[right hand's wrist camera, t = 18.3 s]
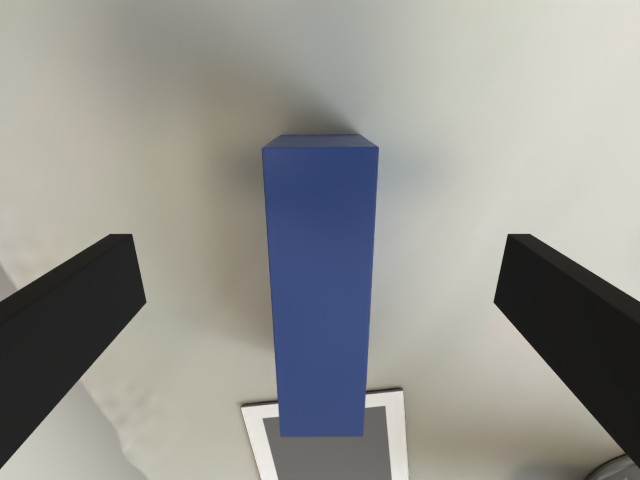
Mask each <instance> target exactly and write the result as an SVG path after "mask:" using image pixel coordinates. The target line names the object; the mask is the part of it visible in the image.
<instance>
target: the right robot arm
mask: <svg viewBox="0 0 640 480" xmlns="http://www.w3.org/2000/svg"><path fill="white" fill-rule="evenodd" d="M145 303H146V298H145V293H144V288H143V284H142V279H141V274H140V269H139V265H138V260H137V255H136V250H135V246H134V241H133V236H132V234H109V235H108V236H106V237H104V238H103V239H101V240H100V241H98V242H96V243H95V244H93V245H91V246H90V247H88V248H87V249H85V250H83V251H82V252H80V253H79V254H77V255H75V256H74V257H72V258H70V259H69V260H67V261H66V262H64V263H62V264H61V265H59V266H58V267H56V268H54V269H53V270H51V271H49V272H48V273H46V274H45V275H43V276H41V277H40V278H38V279H36V280H35V281H33V282H32V283H30V284H28V285H27V286H25V287H24V288H22V289H20V290H19V291H17V292H16V293H14V294H12V295H11V296H9V297H7V298H6V299H4V300H2V301H1V302H0V469H1V468H2V467H3V465H4V464H5V463H6V462H7V461H8V460H9V459H10V457H11V456H12V455H13V454H14V453H15V452H16V451H17V450H18V448H19V447H20V446H21V445H22V444H23V443H24V441H25V440H26V439H27V438H28V437H29V436H30V435H31V434H32V432H33V431H34V430H35V429H36V428H37V427H38V426H39V424H40V423H41V422H42V421H43V420H44V419H45V418H46V416H47V415H48V414H49V413H50V412H51V411H52V410H53V408H54V407H55V406H56V405H57V404H58V403H59V401H60V400H61V399H62V398H63V397H64V396H65V395H66V394H67V392H68V391H69V390H70V389H71V388H72V387H73V386H74V384H75V383H76V382H77V381H78V380H79V379H80V378H81V376H82V375H83V374H84V373H85V372H86V371H87V370H88V368H89V367H90V366H91V365H92V364H93V363H94V362H95V360H96V359H97V358H98V357H99V356H100V355H101V354H102V353H103V351H104V350H105V349H106V348H107V347H108V346H109V345H110V343H111V342H112V341H113V340H114V339H115V338H116V337H117V335H118V334H119V333H120V332H121V331H122V330H123V329H124V327H125V326H126V325H127V324H128V323H129V322H130V321H131V319H132V318H133V317H134V316H135V315H136V314H137V313H138V311H139V310H140V309H141V308H142V307H143V306H144V305H145ZM494 303H495V305H496V306H497V307H498V308H499V309H500V310H501V311H502V313H503V314H504V315H505V316H506V317H507V318H508V319H509V321H510V322H511V323H512V324H513V325H514V326H515V327H516V329H517V330H518V331H519V332H520V333H521V334H522V335H523V337H524V338H525V339H526V340H527V341H528V342H529V343H530V345H531V346H532V347H533V348H534V349H535V350H536V351H537V353H538V354H539V355H540V356H541V357H542V358H543V359H544V360H545V362H546V363H547V364H548V365H549V366H550V367H551V368H552V370H553V371H554V372H555V373H556V374H557V375H558V376H559V378H560V379H561V380H562V381H563V382H564V383H565V384H566V386H567V387H568V388H569V389H570V390H571V391H572V392H573V394H574V395H575V396H576V397H577V398H578V399H579V400H580V402H581V403H582V404H583V405H584V406H585V407H586V408H587V410H588V411H589V412H590V413H591V414H592V415H593V416H594V418H595V419H596V420H597V421H598V422H599V423H600V424H601V426H602V427H603V428H604V429H605V430H606V431H607V432H608V434H609V435H610V436H611V437H612V438H613V439H614V440H615V442H616V443H617V444H618V445H619V446H620V447H621V448H622V450H623V451H624V452H625V453H626V454H627V455H628V456H629V457H630V459H631V460H632V461H633V462H634V463H635V464H636V465H637V467H638V468H639V469H640V302H639V301H638V300H636V299H634V298H633V297H631V296H629V295H628V294H626V293H625V292H623V291H621V290H620V289H618V288H616V287H615V286H613V285H612V284H610V283H608V282H607V281H605V280H604V279H602V278H600V277H599V276H597V275H595V274H594V273H592V272H591V271H589V270H587V269H586V268H584V267H582V266H581V265H579V264H578V263H576V262H574V261H573V260H571V259H570V258H568V257H566V256H565V255H563V254H561V253H560V252H558V251H557V250H555V249H553V248H552V247H550V246H549V245H547V244H545V243H544V242H542V241H540V240H539V239H537V238H536V237H534V236H532V235H531V234H508V236H507V241H506V246H505V250H504V255H503V260H502V265H501V269H500V274H499V279H498V284H497V288H496V293H495V298H494Z"/></svg>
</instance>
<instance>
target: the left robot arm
mask: <svg viewBox="0 0 640 480" xmlns="http://www.w3.org/2000/svg"><path fill="white" fill-rule="evenodd" d="M587 480H640V469H639V468H638V467H637V465H636V464H635V463H634V462H633V461H632V460H631V459H630V457H629V456H628V455H626V456H623V457H620V458H617V459H615V460H613V461H610V462H608V463H607V464H605V465H603V466H602V467H600V468H599V469H597V470H596V471H595V472H593V473H592V474H591V475H590V476H589V477H588V478H587Z"/></svg>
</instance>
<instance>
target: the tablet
mask: <svg viewBox="0 0 640 480" xmlns="http://www.w3.org/2000/svg"><path fill="white" fill-rule="evenodd" d="M241 410H242V414H243V417H244V421H245V424H246V428H247V431H248V435H249V438H250V442H251V445H252V449H253V452H254V456H255V459H256V463H257V466H258V470H259V473H260V477H261V480H409V476H408V460H407V445H406V429H405V413H404V398H403V389H393V390H384V391H374V392H366V398H365V417H364V436H363V437H280V426H279V410H278V402H268V403H259V404H249V405H241Z"/></svg>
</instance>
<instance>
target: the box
mask: <svg viewBox="0 0 640 480" xmlns="http://www.w3.org/2000/svg"><path fill="white" fill-rule="evenodd" d="M378 155H379V147H377V146H376V145H374V144H373V143H372V142H370V141H369V140H367V139H366V138H364V137H363V136H361V135H280V136H279V137H277V138H276V139H274V140H273V141H271V142H270V143H269V144H267V145H266V146H264V147H263V148H262V159H263V175H264V190H265V206H266V222H267V238H268V253H269V269H270V285H271V300H272V316H273V332H274V347H275V363H276V379H277V394H278V410H279V426H280V437H363V436H364V417H365V398H366V380H367V361H368V342H369V323H370V305H371V286H372V267H373V248H374V230H375V211H376V192H377V173H378Z"/></svg>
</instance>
